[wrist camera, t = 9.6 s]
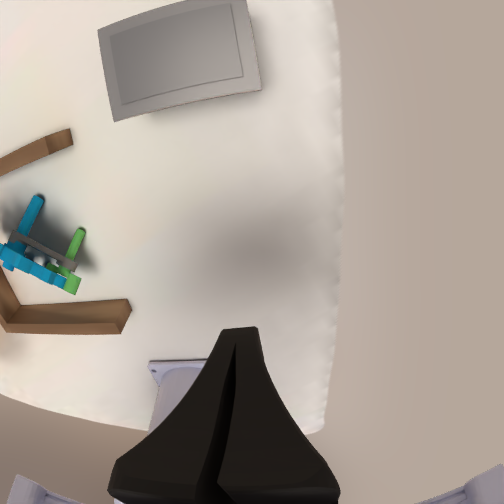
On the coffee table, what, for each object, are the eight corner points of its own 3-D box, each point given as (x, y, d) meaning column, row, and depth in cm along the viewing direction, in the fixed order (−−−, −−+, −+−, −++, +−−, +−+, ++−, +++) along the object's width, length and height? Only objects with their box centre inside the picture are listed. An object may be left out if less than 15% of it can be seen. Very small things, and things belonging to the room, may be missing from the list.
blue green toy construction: (-17, 250, 20) (-64, 229, 12) (8, 192, 22) (-25, 149, 13) (78, 301, 24) (65, 305, 16) (102, 240, 26) (103, 214, 17)
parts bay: (132, 310, 25) (119, 335, 22) (19, 314, 26) (5, 333, 23) (69, 128, 17) (42, 137, 15) (-39, 182, 19) (-61, 195, 16)
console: (260, 90, 16) (261, 89, 12) (147, 113, 17) (111, 123, 13) (247, 10, 14) (243, -18, 9) (134, 37, 15) (94, 25, 10)
